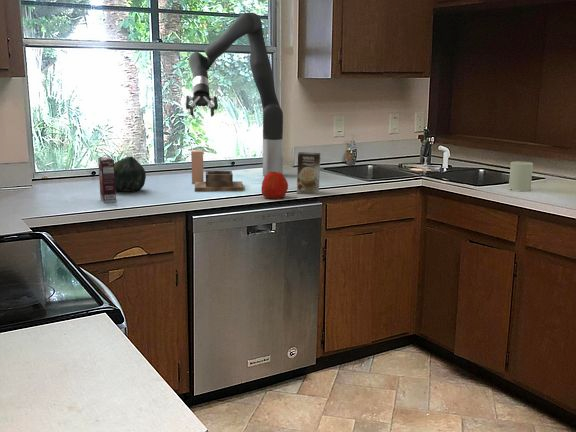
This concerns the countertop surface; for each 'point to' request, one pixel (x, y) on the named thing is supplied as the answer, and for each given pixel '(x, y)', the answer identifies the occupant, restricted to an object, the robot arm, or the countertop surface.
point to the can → (520, 175)
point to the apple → (274, 185)
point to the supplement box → (107, 179)
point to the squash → (129, 175)
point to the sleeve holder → (219, 182)
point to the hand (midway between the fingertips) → (202, 115)
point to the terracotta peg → (197, 166)
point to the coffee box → (308, 173)
